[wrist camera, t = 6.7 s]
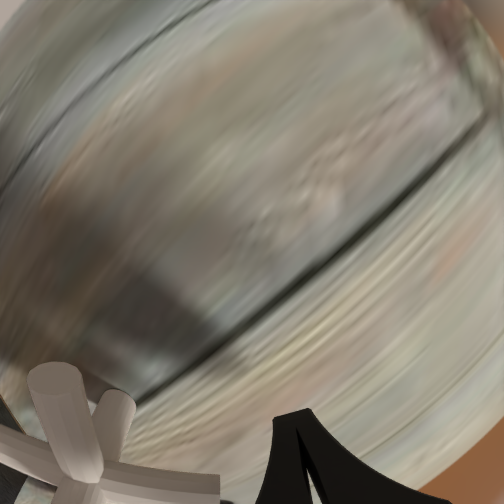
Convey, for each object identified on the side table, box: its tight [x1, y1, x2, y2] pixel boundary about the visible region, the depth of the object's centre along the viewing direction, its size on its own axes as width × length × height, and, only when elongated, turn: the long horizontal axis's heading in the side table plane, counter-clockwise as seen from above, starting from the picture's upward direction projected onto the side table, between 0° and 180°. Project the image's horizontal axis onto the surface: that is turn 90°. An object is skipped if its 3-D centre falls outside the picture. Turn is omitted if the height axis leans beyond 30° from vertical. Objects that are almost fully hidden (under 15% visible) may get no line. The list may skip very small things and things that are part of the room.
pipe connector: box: [0, 361, 220, 504], centre depth 8 cm, size 10×10×10 cm
